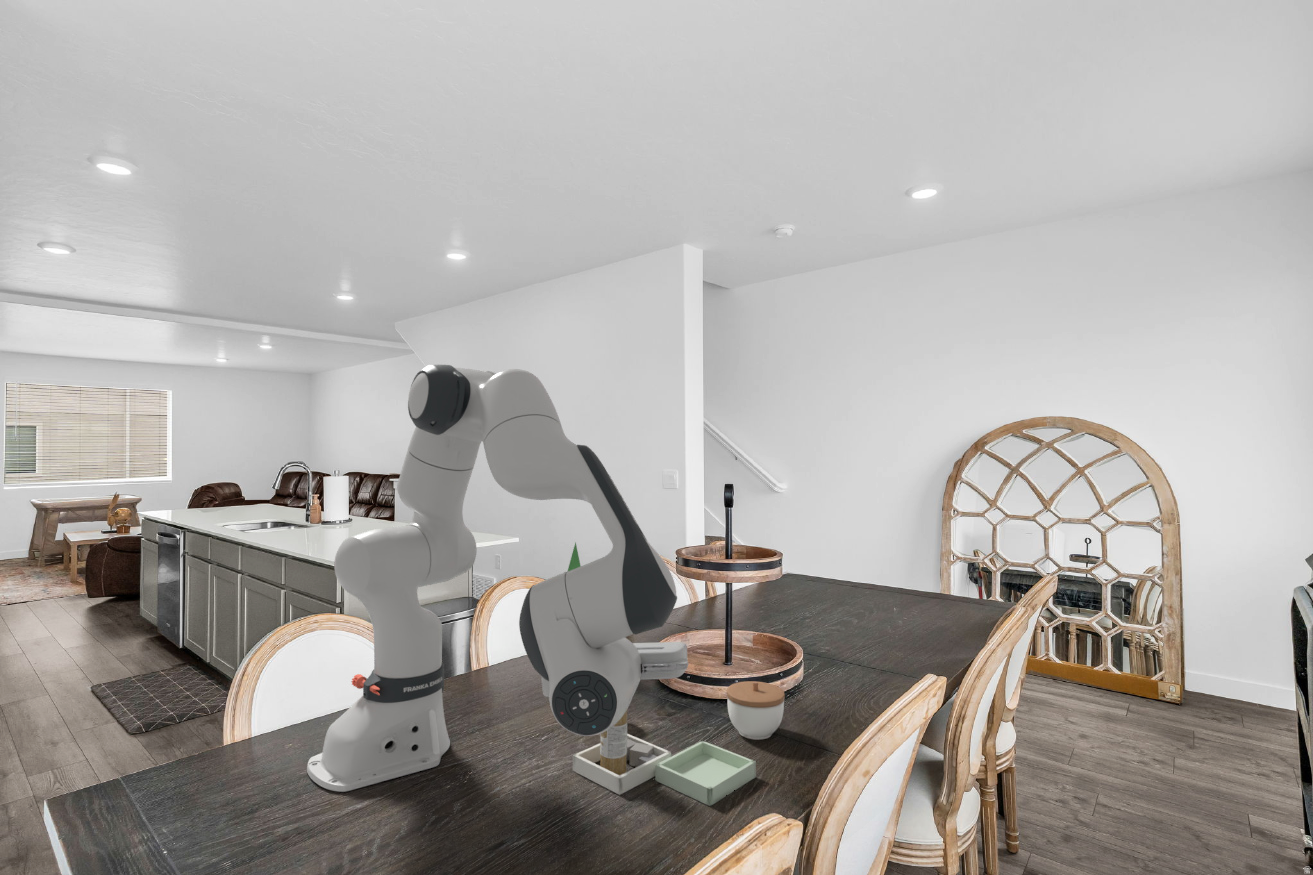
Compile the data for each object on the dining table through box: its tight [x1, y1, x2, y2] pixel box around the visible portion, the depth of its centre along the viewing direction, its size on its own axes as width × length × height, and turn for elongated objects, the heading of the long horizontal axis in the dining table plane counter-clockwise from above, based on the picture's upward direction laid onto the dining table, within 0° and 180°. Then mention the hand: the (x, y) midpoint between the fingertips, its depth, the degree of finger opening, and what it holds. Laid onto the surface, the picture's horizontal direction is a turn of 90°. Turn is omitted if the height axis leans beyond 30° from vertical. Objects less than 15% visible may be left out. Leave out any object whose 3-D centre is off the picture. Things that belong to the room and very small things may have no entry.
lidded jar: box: [726, 680, 786, 741], centre depth 123 cm, size 11×11×9 cm
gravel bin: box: [572, 733, 672, 796], centre depth 109 cm, size 12×11×3 cm
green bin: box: [654, 740, 757, 807], centre depth 106 cm, size 12×11×2 cm
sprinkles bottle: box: [599, 709, 628, 776], centre depth 107 cm, size 5×5×14 cm
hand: (621, 649), depth 99 cm, fingers open, 8 cm apart
